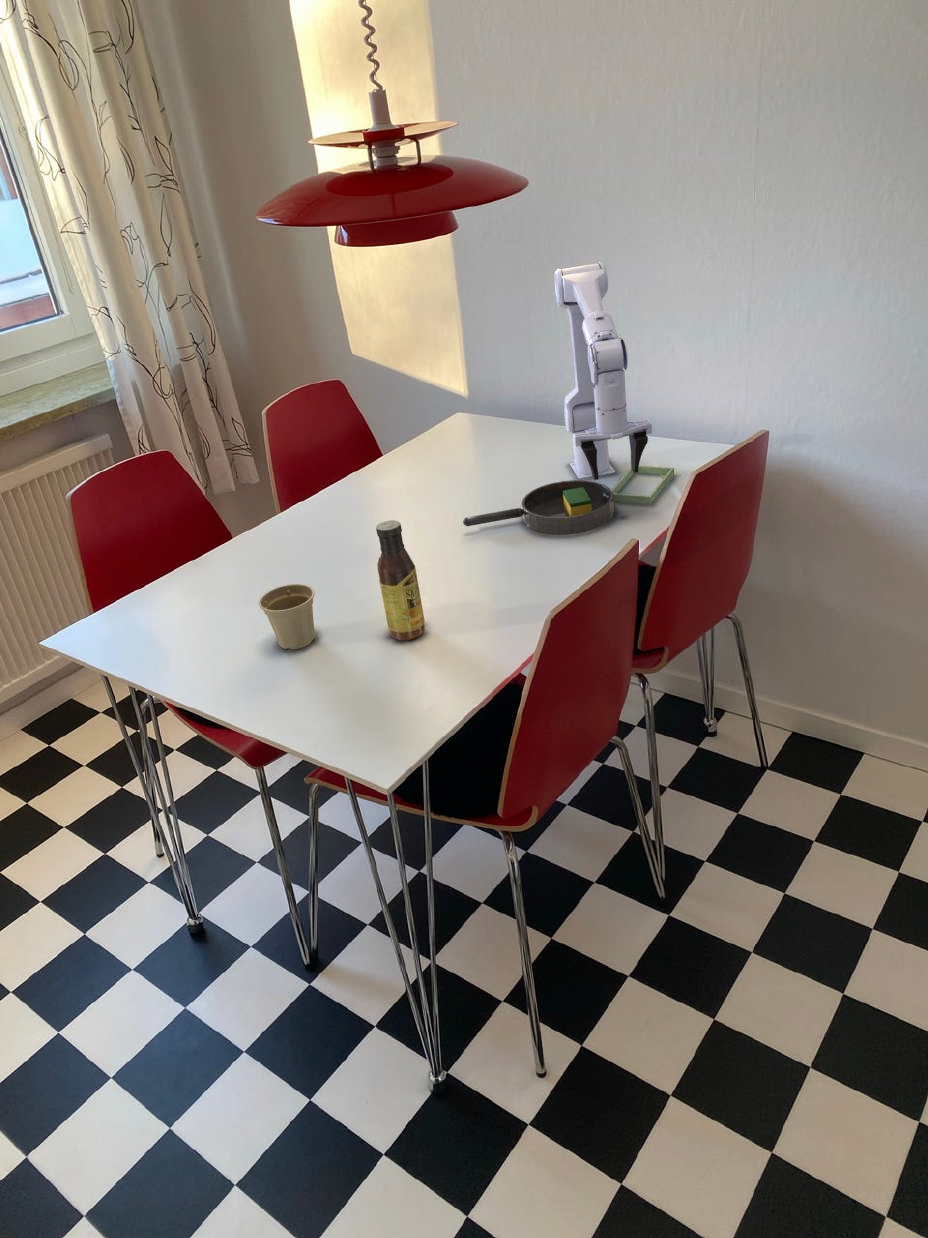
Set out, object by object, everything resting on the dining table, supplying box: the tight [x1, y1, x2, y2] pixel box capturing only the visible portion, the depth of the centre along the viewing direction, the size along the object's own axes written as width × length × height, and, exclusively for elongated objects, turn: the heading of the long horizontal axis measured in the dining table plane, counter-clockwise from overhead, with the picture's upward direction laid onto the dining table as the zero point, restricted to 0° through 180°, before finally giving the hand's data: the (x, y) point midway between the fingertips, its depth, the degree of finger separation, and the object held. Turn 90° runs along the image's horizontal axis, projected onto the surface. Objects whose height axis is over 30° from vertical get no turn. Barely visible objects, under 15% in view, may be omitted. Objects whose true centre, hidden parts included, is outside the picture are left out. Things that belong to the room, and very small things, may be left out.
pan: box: [520, 479, 615, 536], centre depth 196 cm, size 18×18×4 cm
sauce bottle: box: [375, 519, 426, 641], centre depth 161 cm, size 6×6×20 cm
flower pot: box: [258, 583, 316, 650], centre depth 167 cm, size 9×9×9 cm
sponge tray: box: [611, 465, 675, 505], centre depth 203 cm, size 15×9×2 cm, turn 152°
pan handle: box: [462, 507, 523, 527], centre depth 195 cm, size 12×2×2 cm, turn 97°
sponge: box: [563, 487, 592, 517], centre depth 196 cm, size 7×4×4 cm, turn 7°
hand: (615, 474), depth 187 cm, fingers open, 7 cm apart
